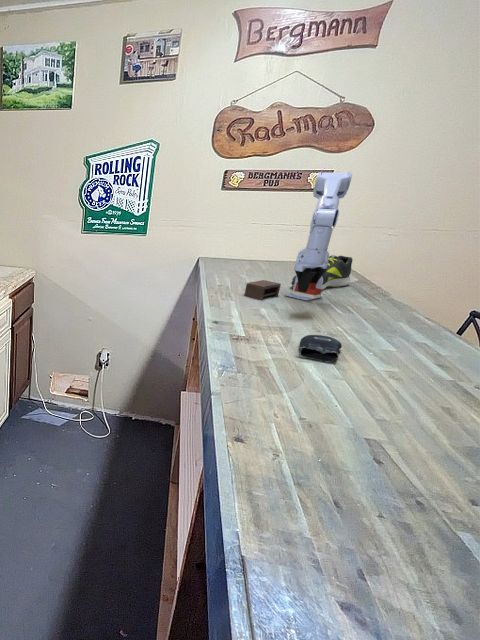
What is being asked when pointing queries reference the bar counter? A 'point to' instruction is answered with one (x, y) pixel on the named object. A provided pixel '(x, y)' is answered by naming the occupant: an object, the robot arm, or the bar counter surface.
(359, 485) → the bar counter surface
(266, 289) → the box
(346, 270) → the running shoe
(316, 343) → the electronic device
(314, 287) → the shoe
